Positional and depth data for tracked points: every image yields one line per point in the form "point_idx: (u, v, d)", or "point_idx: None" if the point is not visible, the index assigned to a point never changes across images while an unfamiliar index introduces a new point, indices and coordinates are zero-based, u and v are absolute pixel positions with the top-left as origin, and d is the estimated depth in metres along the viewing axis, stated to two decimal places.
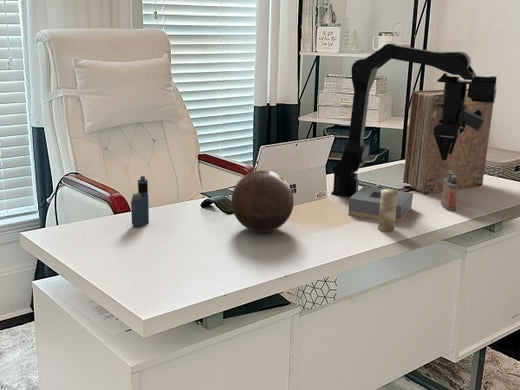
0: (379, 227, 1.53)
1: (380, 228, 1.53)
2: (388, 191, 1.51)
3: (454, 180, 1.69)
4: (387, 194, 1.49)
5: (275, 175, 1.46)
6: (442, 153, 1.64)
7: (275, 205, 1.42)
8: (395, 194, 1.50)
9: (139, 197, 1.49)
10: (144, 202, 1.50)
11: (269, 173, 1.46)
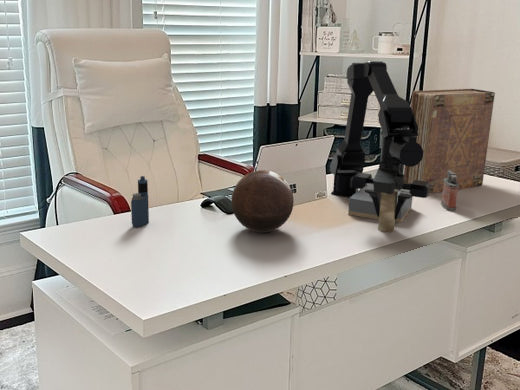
0: (379, 227, 1.53)
1: (380, 228, 1.53)
2: None
3: (454, 180, 1.69)
4: (387, 194, 1.49)
5: (275, 175, 1.46)
6: None
7: (275, 205, 1.42)
8: (395, 194, 1.50)
9: (139, 197, 1.49)
10: (144, 202, 1.50)
11: (269, 173, 1.46)
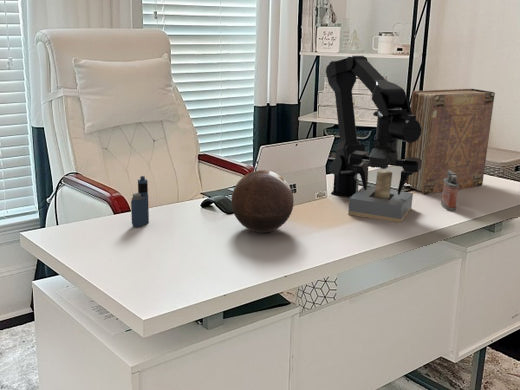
0: None
1: None
2: (383, 172, 1.65)
3: (454, 180, 1.69)
4: (383, 175, 1.63)
5: (275, 175, 1.46)
6: None
7: (275, 205, 1.42)
8: (389, 175, 1.63)
9: (139, 197, 1.49)
10: (144, 202, 1.50)
11: (269, 173, 1.46)
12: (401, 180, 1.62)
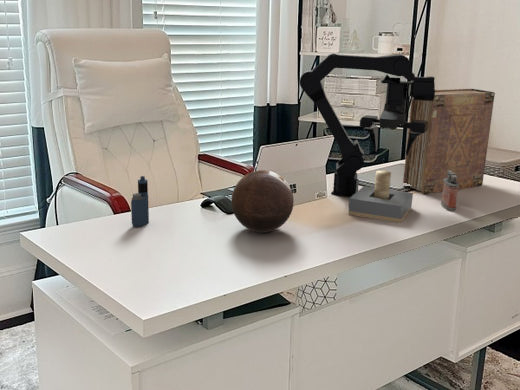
0: None
1: None
2: (382, 172, 1.65)
3: (454, 180, 1.69)
4: (381, 174, 1.63)
5: (275, 175, 1.46)
6: None
7: (275, 205, 1.42)
8: (388, 175, 1.64)
9: (139, 197, 1.49)
10: (144, 202, 1.50)
11: (269, 173, 1.46)
12: (409, 141, 1.75)
